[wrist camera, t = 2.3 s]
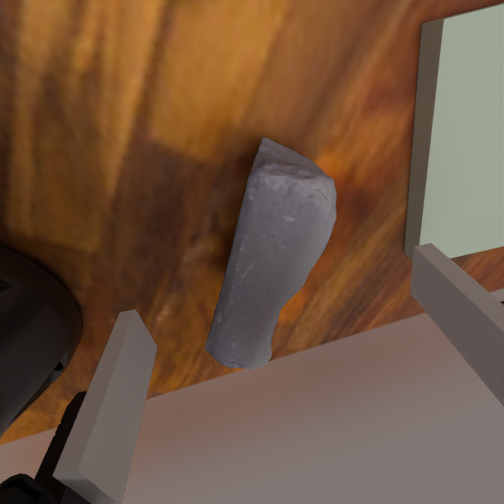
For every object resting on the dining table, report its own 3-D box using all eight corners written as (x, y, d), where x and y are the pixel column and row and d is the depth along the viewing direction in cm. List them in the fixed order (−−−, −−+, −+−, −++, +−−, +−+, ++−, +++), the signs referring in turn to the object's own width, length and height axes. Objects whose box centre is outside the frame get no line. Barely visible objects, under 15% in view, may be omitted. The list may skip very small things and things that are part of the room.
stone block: (240, 120, 19) (258, 166, 10) (309, 141, 20) (376, 198, 12) (201, 270, 25) (193, 377, 16) (257, 280, 26) (276, 385, 17)
